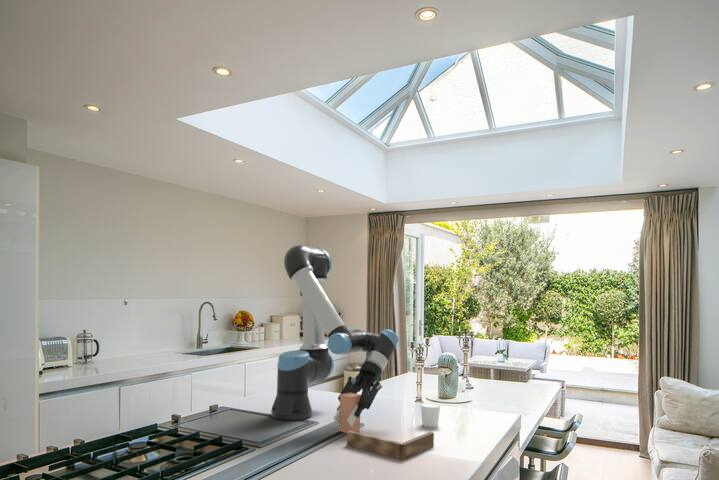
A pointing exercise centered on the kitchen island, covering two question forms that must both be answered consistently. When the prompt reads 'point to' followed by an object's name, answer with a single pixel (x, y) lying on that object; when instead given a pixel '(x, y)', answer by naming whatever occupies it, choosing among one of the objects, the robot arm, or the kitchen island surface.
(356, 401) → the block
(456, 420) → the kitchen island surface
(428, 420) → the white cup
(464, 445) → the kitchen island surface
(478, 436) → the kitchen island surface
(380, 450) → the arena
